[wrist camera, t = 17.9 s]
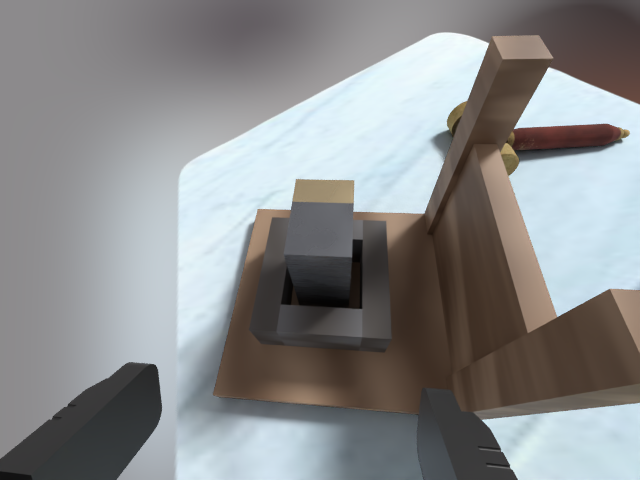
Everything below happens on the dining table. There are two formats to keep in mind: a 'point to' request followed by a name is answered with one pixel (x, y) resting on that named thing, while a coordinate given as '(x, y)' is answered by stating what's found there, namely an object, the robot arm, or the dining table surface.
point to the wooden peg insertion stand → (437, 294)
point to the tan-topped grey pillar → (321, 242)
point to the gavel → (547, 137)
